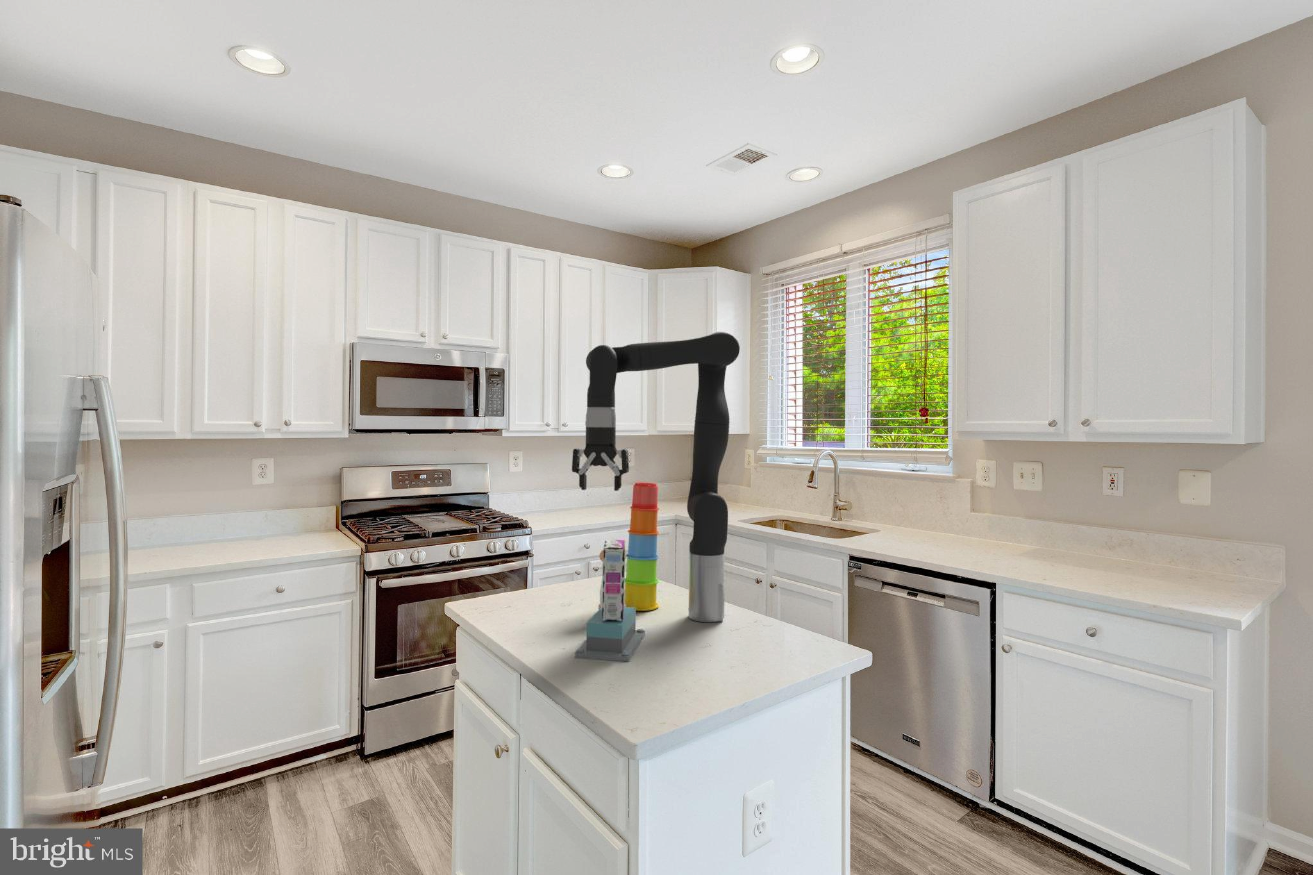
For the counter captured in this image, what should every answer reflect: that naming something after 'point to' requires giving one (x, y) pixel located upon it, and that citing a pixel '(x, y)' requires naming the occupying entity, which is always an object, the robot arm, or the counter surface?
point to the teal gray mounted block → (611, 638)
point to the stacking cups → (642, 549)
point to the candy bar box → (613, 581)
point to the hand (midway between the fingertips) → (600, 490)
